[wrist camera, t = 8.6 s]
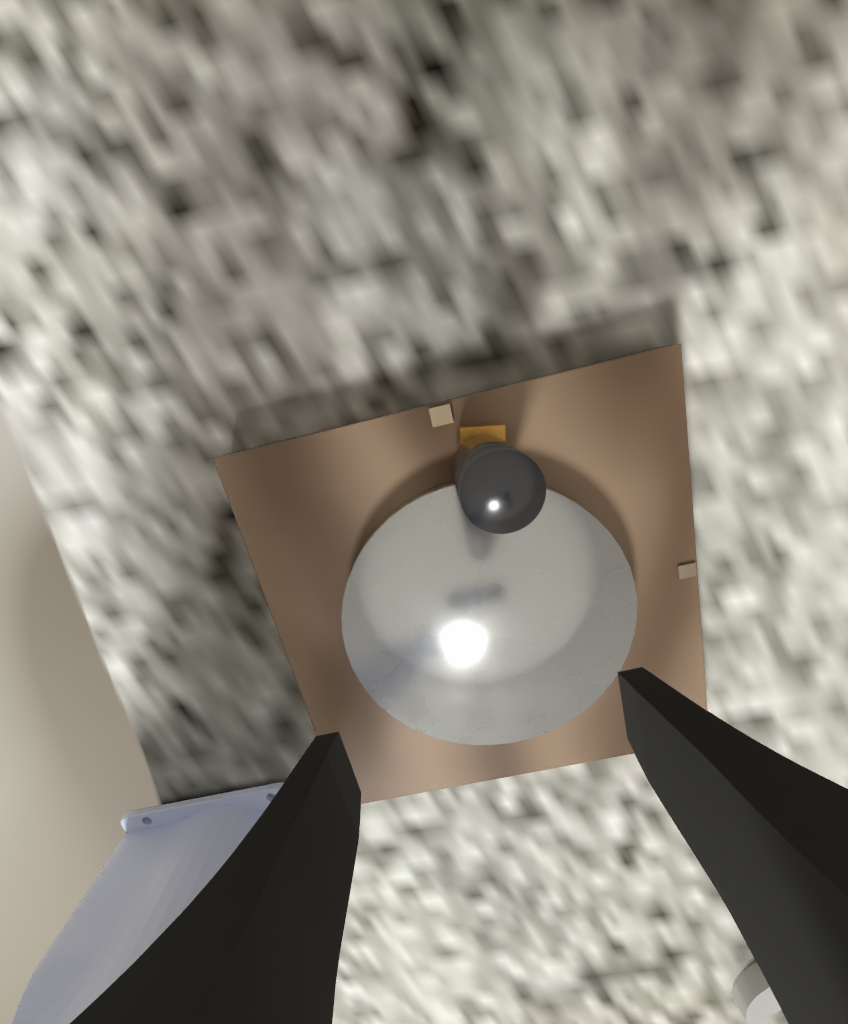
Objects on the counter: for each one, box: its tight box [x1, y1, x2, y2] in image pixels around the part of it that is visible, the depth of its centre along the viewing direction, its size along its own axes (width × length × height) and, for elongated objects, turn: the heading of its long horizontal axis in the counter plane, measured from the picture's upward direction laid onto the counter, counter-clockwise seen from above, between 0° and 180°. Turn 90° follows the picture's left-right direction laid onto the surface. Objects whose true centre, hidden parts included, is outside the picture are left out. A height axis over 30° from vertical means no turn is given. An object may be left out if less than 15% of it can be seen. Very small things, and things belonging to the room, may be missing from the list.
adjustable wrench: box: [732, 962, 781, 1024], centre depth 24 cm, size 25×6×2 cm, turn 165°
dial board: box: [213, 344, 707, 804], centre depth 19 cm, size 18×18×2 cm
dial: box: [341, 423, 637, 745], centre depth 16 cm, size 14×12×5 cm
